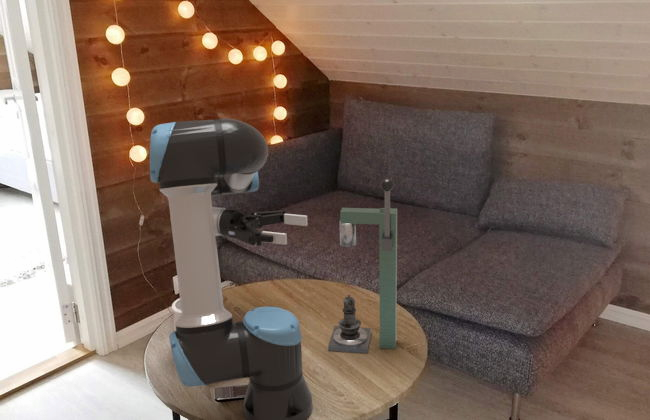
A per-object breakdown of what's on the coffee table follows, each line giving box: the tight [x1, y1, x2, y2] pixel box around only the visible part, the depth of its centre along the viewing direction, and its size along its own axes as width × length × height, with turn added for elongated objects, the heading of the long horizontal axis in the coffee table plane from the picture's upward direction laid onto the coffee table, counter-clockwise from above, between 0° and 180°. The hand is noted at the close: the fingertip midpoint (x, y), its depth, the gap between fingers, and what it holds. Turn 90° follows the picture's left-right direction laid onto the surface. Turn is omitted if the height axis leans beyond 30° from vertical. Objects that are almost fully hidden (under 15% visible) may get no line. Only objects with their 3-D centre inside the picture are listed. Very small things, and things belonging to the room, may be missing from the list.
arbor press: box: [327, 178, 398, 354], centre depth 144 cm, size 10×17×46 cm, turn 79°
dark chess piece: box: [338, 294, 362, 340], centre depth 150 cm, size 6×6×12 cm
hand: (297, 229), depth 148 cm, fingers open, 13 cm apart
